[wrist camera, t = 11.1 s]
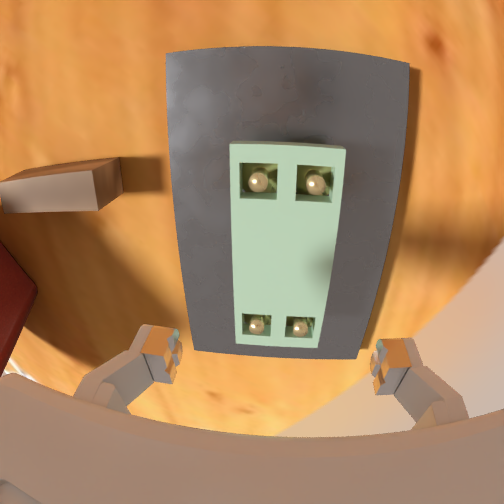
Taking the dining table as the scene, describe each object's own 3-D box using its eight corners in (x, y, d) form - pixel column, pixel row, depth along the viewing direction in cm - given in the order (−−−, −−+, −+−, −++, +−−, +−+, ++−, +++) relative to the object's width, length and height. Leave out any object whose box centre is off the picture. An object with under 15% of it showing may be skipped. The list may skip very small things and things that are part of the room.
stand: (24, 170, 23) (-3, 183, 19) (119, 157, 22) (91, 170, 18) (30, 197, 24) (4, 213, 21) (123, 192, 23) (98, 210, 19)
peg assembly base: (173, 55, 17) (134, 44, 12) (401, 65, 16) (440, 57, 11) (197, 339, 30) (182, 385, 25) (354, 348, 29) (362, 396, 23)
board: (316, 336, 22) (317, 347, 21) (238, 332, 23) (235, 343, 22) (341, 145, 15) (346, 149, 14) (233, 140, 16) (229, 143, 15)
